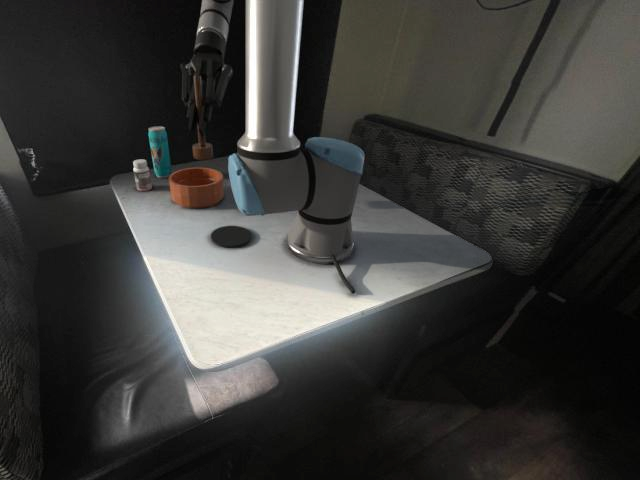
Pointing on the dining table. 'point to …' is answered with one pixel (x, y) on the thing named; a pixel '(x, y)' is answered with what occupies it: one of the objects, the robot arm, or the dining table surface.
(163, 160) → the beverage can
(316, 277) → the dining table surface
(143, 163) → the pill bottle
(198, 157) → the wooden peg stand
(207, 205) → the bowl
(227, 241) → the disc
